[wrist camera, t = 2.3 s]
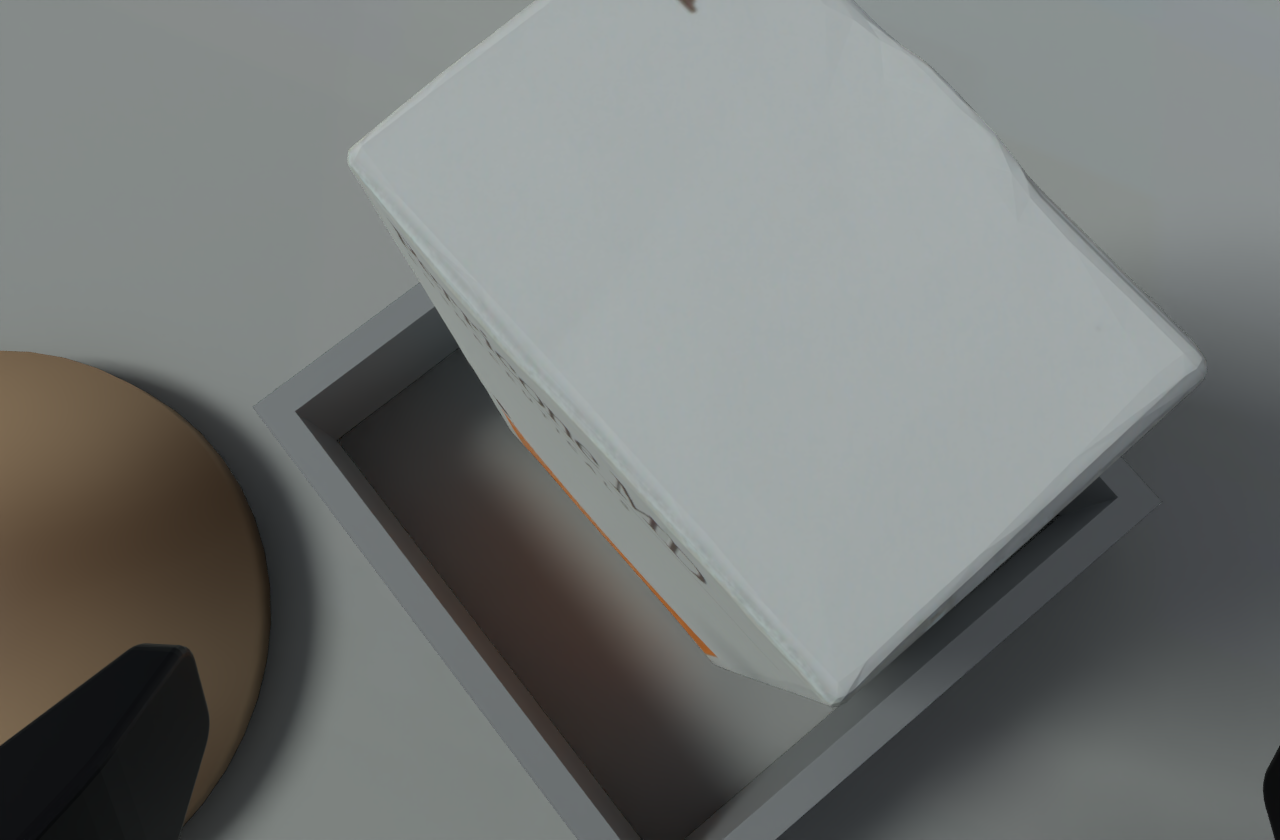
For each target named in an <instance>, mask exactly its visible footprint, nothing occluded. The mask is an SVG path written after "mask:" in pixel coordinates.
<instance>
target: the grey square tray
mask: <svg viewBox="0 0 1280 840" xmlns="http://www.w3.org/2000/svg"><path fill="white" fill-rule="evenodd" d="M458 348H459V345H458V343H457V342H456V340H455V338H454V337H453V335H452V334H451V332H450V330H449V329H448V327H447V326H446V324H445V322H444V321H443V319H442V317H441V316H440V314H439V312H438V311H437V309H436V307H435V306H434V304H433V303H432V301H431V300H430V298H429V296H428V294H427V293H426V291H425V289H424V288H423V286H422V285H421V283H420V282H419V283H418V284H417V285H415V286H414V287H413V288H411V289H410V290H409V291H407V292H406V293H405V294H403V295H402V296H401V297H399V298H398V299H397V300H395V301H394V302H393V303H391V304H390V305H389V306H387V307H386V308H384V309H383V310H382V311H380V312H379V313H378V314H376V315H375V316H374V317H372V318H371V319H370V320H368V321H367V322H366V323H364V324H363V325H362V326H360V327H359V328H358V329H356V330H355V331H354V332H352V333H351V334H350V335H348V336H347V337H346V338H344V339H343V340H341V341H340V342H339V343H337V344H336V345H335V346H333V347H332V348H331V349H329V350H328V351H327V352H325V353H324V354H323V355H321V356H320V357H319V358H317V359H316V360H315V361H313V362H312V363H311V364H309V365H308V366H307V367H305V368H304V369H303V370H301V371H300V372H299V373H297V374H296V375H294V376H293V377H292V378H290V379H289V380H288V381H286V382H285V383H284V384H282V385H281V386H280V387H278V388H277V389H276V390H274V391H273V392H272V393H270V394H269V395H268V396H266V397H265V398H264V399H262V400H261V401H260V402H258V403H257V404H256V405H254V406H253V409H254V410H255V411H256V413H257V414H258V415H259V417H260V418H261V419H262V421H263V422H264V423H265V424H266V426H267V427H268V428H269V430H270V431H271V432H272V434H273V435H274V436H275V438H276V439H277V440H278V442H279V443H280V444H281V446H282V447H283V448H284V450H285V451H286V452H287V454H288V455H289V456H290V458H291V459H292V460H293V462H294V463H295V464H296V466H297V467H298V468H299V470H300V471H301V472H302V474H303V475H304V476H305V478H306V479H307V480H308V482H309V483H310V484H311V486H312V487H313V488H314V490H315V491H316V492H317V494H318V495H319V496H320V498H321V499H322V500H323V502H324V503H325V504H326V506H327V507H328V508H329V510H330V511H331V512H332V514H333V515H334V516H335V518H336V519H337V520H338V522H339V523H340V524H341V526H342V527H343V528H344V530H345V531H346V532H347V534H348V535H349V536H350V538H351V539H352V540H353V542H354V543H355V544H356V546H357V547H358V548H359V549H360V551H361V552H362V553H363V555H364V556H365V557H366V559H367V560H368V561H369V563H370V564H371V565H372V567H373V568H374V569H375V571H376V572H377V573H378V575H379V576H380V577H381V579H382V580H383V581H384V583H385V584H386V585H387V587H388V588H389V589H390V591H391V592H392V593H393V595H394V596H395V597H396V599H397V600H398V601H399V603H400V604H401V605H402V607H403V608H404V609H405V611H406V612H407V613H408V615H409V616H410V617H411V619H412V620H413V621H414V623H415V624H416V625H417V627H418V628H419V629H420V631H421V632H422V633H423V635H424V636H425V637H426V639H427V640H428V641H429V643H430V644H431V645H432V647H433V648H434V649H435V651H436V652H437V653H438V655H439V656H440V657H441V659H442V660H443V661H444V663H445V664H446V665H447V667H448V668H449V669H450V671H451V672H452V673H453V675H454V676H455V677H456V678H457V680H458V681H459V682H460V684H461V685H462V686H463V688H464V689H465V690H466V692H467V693H468V694H469V696H470V697H471V698H472V700H473V701H474V702H475V704H476V705H477V706H478V708H479V709H480V710H481V712H482V713H483V714H484V716H485V717H486V718H487V720H488V721H489V722H490V724H491V725H492V726H493V728H494V729H495V730H496V732H497V733H498V734H499V736H500V737H501V738H502V740H503V741H504V742H505V744H506V745H507V746H508V748H509V749H510V750H511V752H512V753H513V754H514V756H515V757H516V758H517V760H518V761H519V762H520V764H521V765H522V766H523V768H524V769H525V770H526V772H527V773H528V774H529V776H530V777H531V778H532V780H533V781H534V782H535V784H536V785H537V786H538V788H539V789H540V790H541V792H542V793H543V794H544V796H545V797H546V798H547V800H548V801H549V802H550V804H551V805H552V806H553V807H554V809H555V810H556V811H557V813H558V814H559V815H560V817H561V818H562V819H563V821H564V822H565V823H566V825H567V826H568V827H569V829H570V830H571V831H572V833H573V834H574V835H575V837H576V838H577V839H578V840H641V838H640V837H639V836H638V834H637V833H636V832H635V831H634V829H633V828H632V827H631V825H630V824H629V823H628V821H627V820H626V819H625V817H624V816H623V815H622V813H621V812H620V811H619V810H618V808H617V807H616V806H615V804H614V803H613V802H612V800H611V799H610V798H609V796H608V795H607V794H606V793H605V791H604V790H603V789H602V787H601V786H600V785H599V783H598V782H597V781H596V779H595V778H594V777H593V776H592V774H591V773H590V772H589V770H588V769H587V768H586V766H585V765H584V764H583V762H582V761H581V760H580V758H579V757H578V756H577V755H576V753H575V752H574V751H573V749H572V748H571V747H570V745H569V744H568V743H567V741H566V740H565V739H564V738H563V736H562V735H561V734H560V732H559V731H558V730H557V728H556V727H555V726H554V724H553V723H552V722H551V721H550V719H549V718H548V717H547V715H546V714H545V713H544V711H543V710H542V709H541V707H540V706H539V705H538V703H537V702H536V701H535V700H534V698H533V697H532V696H531V694H530V693H529V692H528V690H527V689H526V688H525V686H524V685H523V684H522V683H521V681H520V680H519V679H518V677H517V676H516V675H515V673H514V672H513V671H512V669H511V668H510V667H509V666H508V664H507V663H506V662H505V660H504V659H503V658H502V656H501V655H500V654H499V652H498V651H497V650H496V648H495V647H494V646H493V645H492V643H491V642H490V641H489V639H488V638H487V637H486V635H485V634H484V633H483V631H482V630H481V629H480V628H479V626H478V625H477V624H476V622H475V621H474V620H473V618H472V617H471V616H470V614H469V613H468V612H467V610H466V609H465V608H464V607H463V605H462V604H461V603H460V601H459V600H458V599H457V597H456V596H455V595H454V593H453V592H452V591H451V590H450V588H449V587H448V586H447V584H446V583H445V582H444V580H443V579H442V578H441V576H440V575H439V574H438V573H437V571H436V570H435V569H434V567H433V566H432V565H431V563H430V562H429V561H428V559H427V558H426V557H425V555H424V554H423V553H422V552H421V550H420V549H419V548H418V546H417V545H416V544H415V542H414V541H413V540H412V538H411V537H410V536H409V535H408V533H407V532H406V531H405V529H404V528H403V527H402V525H401V524H400V523H399V521H398V520H397V519H396V518H395V516H394V515H393V514H392V512H391V511H390V510H389V508H388V507H387V506H386V504H385V503H384V502H383V500H382V499H381V498H380V497H379V495H378V494H377V493H376V491H375V490H374V489H373V487H372V486H371V485H370V483H369V482H368V481H367V480H366V478H365V477H364V476H363V474H362V473H361V472H360V470H359V469H358V468H357V466H356V465H355V464H354V462H353V461H352V460H351V459H350V457H349V456H348V455H347V453H346V452H345V451H344V449H343V448H342V447H341V445H340V444H339V443H338V442H337V440H338V439H339V438H340V437H342V436H343V435H344V434H346V433H347V432H348V431H349V430H351V429H352V428H353V427H355V426H356V425H357V424H359V423H360V422H361V421H363V420H364V419H365V418H367V417H368V416H369V415H371V414H372V413H373V412H375V411H376V410H377V409H378V408H380V407H381V406H382V405H384V404H385V403H386V402H388V401H389V400H390V399H392V398H393V397H394V396H396V395H397V394H398V393H400V392H401V391H402V390H404V389H405V388H406V387H407V386H409V385H410V384H411V383H413V382H414V381H415V380H417V379H418V378H419V377H421V376H422V375H423V374H425V373H426V372H427V371H429V370H430V369H431V368H433V367H434V366H435V365H437V364H438V363H439V362H440V361H442V360H443V359H444V358H446V357H447V356H448V355H450V354H451V353H452V352H454V351H455V350H456V349H458ZM1160 503H1162V501H1161V500H1160V499H1159V498H1158V496H1157V495H1156V494H1155V493H1154V492H1153V491H1152V490H1151V489H1150V488H1149V487H1148V485H1147V484H1146V483H1145V482H1144V481H1143V480H1142V479H1141V478H1140V477H1139V476H1138V475H1137V473H1136V472H1135V471H1134V470H1133V469H1132V468H1131V467H1130V466H1129V465H1128V464H1127V463H1126V461H1125V460H1124V459H1123V458H1122V457H1120V458H1119V459H1117V460H1116V461H1115V462H1114V463H1113V464H1112V465H1111V466H1110V467H1109V468H1108V469H1106V470H1105V471H1104V472H1103V473H1102V474H1101V475H1100V476H1099V477H1098V478H1097V479H1096V480H1095V481H1094V482H1092V483H1091V484H1090V485H1089V486H1088V487H1087V488H1086V489H1085V490H1084V491H1083V492H1081V493H1080V494H1079V495H1078V496H1077V497H1076V498H1075V499H1074V500H1073V501H1072V502H1070V503H1069V504H1068V505H1067V506H1066V507H1065V508H1064V509H1063V510H1062V511H1060V512H1059V513H1058V514H1059V516H1060V517H1058V518H1057V519H1056V520H1055V521H1054V522H1053V523H1051V524H1050V525H1049V526H1048V527H1047V528H1046V529H1044V530H1043V531H1042V532H1041V533H1040V534H1039V535H1037V536H1036V537H1035V538H1034V539H1033V540H1032V541H1030V542H1029V543H1028V544H1027V545H1026V546H1025V547H1023V548H1022V549H1021V550H1020V551H1019V552H1018V553H1017V554H1015V555H1014V556H1013V557H1012V558H1011V559H1010V560H1008V561H1007V562H1006V563H1005V564H1004V565H1003V566H1001V567H1000V568H999V569H998V570H997V571H996V572H994V573H993V574H992V575H991V576H990V577H989V578H987V579H986V580H985V581H984V582H983V583H982V584H980V585H979V586H978V587H977V588H976V589H975V590H974V591H972V592H971V593H970V594H969V595H968V596H967V597H965V598H964V599H963V600H962V601H961V602H960V603H958V604H957V605H956V606H955V607H954V608H953V609H951V610H950V611H949V612H948V613H947V614H946V615H944V616H943V617H942V618H941V619H940V620H939V621H937V622H936V623H935V624H934V625H933V626H932V627H931V628H929V629H928V630H927V631H926V632H925V633H924V634H923V635H922V636H920V637H919V638H918V639H917V640H916V641H915V642H914V643H913V644H911V645H910V646H909V647H908V648H907V649H906V650H905V651H904V652H902V653H901V654H900V655H899V656H898V657H897V658H896V659H895V660H893V661H892V662H891V663H890V664H889V665H888V666H887V667H885V668H884V669H883V670H882V671H881V672H880V673H879V674H878V675H876V676H875V677H874V678H873V679H872V680H871V681H870V682H869V683H867V684H866V685H865V686H864V687H863V688H862V689H861V690H860V691H859V692H857V693H856V694H855V695H854V696H853V697H852V698H851V699H850V700H849V701H848V702H846V703H845V704H843V705H841V706H839V707H838V708H836V709H835V710H834V711H833V712H832V713H831V714H829V715H828V716H827V717H826V718H825V719H824V720H822V721H821V722H820V723H819V724H818V725H817V726H815V727H814V728H813V729H812V730H811V731H810V732H808V733H807V734H806V735H805V736H804V737H803V738H801V739H800V740H799V741H798V742H797V743H796V744H795V745H793V746H792V747H791V748H790V749H789V750H788V751H786V752H785V753H784V754H783V755H782V756H781V757H779V758H778V759H777V760H776V761H775V762H774V763H772V764H771V765H770V766H769V767H768V768H767V769H765V770H764V771H763V772H762V773H761V774H760V775H758V776H757V777H756V778H755V779H754V780H753V781H752V782H750V783H749V784H748V785H747V786H746V787H745V788H743V789H742V790H741V791H740V792H739V793H738V794H736V795H735V796H734V797H733V798H732V799H731V800H729V801H728V802H727V803H726V804H725V805H724V806H722V807H721V808H720V809H719V810H718V811H717V812H715V813H714V814H713V815H712V816H711V817H710V818H709V819H707V820H706V821H705V822H704V823H703V824H702V825H700V826H699V827H698V828H697V829H696V830H695V831H693V832H692V833H691V834H690V835H689V836H688V837H686V838H685V839H684V840H775V839H777V838H778V837H779V836H780V835H781V834H782V833H783V832H785V831H786V830H787V829H788V828H789V827H790V826H791V825H793V824H794V823H795V822H796V821H797V820H798V819H799V818H801V817H802V816H803V815H804V814H805V813H806V812H807V811H809V810H810V809H811V808H812V807H813V806H814V805H815V804H817V803H818V802H819V801H820V800H821V799H822V798H824V797H825V796H826V795H827V794H828V793H829V792H830V791H832V790H833V789H834V788H835V787H836V786H837V785H838V784H840V783H841V782H842V781H843V780H844V779H845V778H846V777H848V776H849V775H850V774H851V773H852V772H853V771H854V770H856V769H857V768H858V767H859V766H860V765H861V764H862V763H864V762H865V761H866V760H867V759H868V758H869V757H870V756H872V755H873V754H874V753H875V752H876V751H877V750H879V749H880V748H881V747H882V746H883V745H884V744H885V743H887V742H888V741H889V740H890V739H891V738H892V737H893V736H895V735H896V734H897V733H898V732H899V731H900V730H901V729H903V728H904V727H905V726H906V725H907V724H908V723H909V722H911V721H912V720H913V719H914V718H915V717H916V716H917V715H919V714H920V713H921V712H922V711H923V710H924V709H926V708H927V707H928V706H929V705H930V704H931V703H932V702H934V701H935V700H936V699H937V698H938V697H939V696H940V695H942V694H943V693H944V692H945V691H946V690H947V689H948V688H950V687H951V686H952V685H953V684H954V683H955V682H956V681H958V680H959V679H960V678H961V677H962V676H963V675H964V674H966V673H967V672H968V671H969V670H970V669H971V668H972V667H974V666H975V665H976V664H977V663H978V662H979V661H981V660H982V659H983V658H984V657H985V656H986V655H987V654H989V653H990V652H991V651H992V650H993V649H994V648H995V647H997V646H998V645H999V644H1000V643H1001V642H1002V641H1003V640H1005V639H1006V638H1007V637H1008V636H1009V635H1010V634H1011V633H1013V632H1014V631H1015V630H1016V629H1017V628H1018V627H1019V626H1021V625H1022V624H1023V623H1024V622H1025V621H1026V620H1027V619H1029V618H1030V617H1031V616H1032V615H1033V614H1034V613H1036V612H1037V611H1038V610H1039V609H1040V608H1041V607H1042V606H1044V605H1045V604H1046V603H1047V602H1048V601H1049V600H1050V599H1052V598H1053V597H1054V596H1055V595H1056V594H1057V593H1058V592H1060V591H1061V590H1062V589H1063V588H1064V587H1065V586H1066V585H1068V584H1069V583H1070V582H1071V581H1072V580H1073V579H1074V578H1076V577H1077V576H1078V575H1079V574H1080V573H1081V572H1082V571H1084V570H1085V569H1086V568H1087V567H1088V566H1089V565H1091V564H1092V563H1093V562H1094V561H1095V560H1096V559H1097V558H1099V557H1100V556H1101V555H1102V554H1103V553H1104V552H1105V551H1107V550H1108V549H1109V548H1110V547H1111V546H1112V545H1113V544H1115V543H1116V542H1117V541H1118V540H1119V539H1120V538H1121V537H1123V536H1124V535H1125V534H1126V533H1127V532H1128V531H1129V530H1131V529H1132V528H1133V527H1134V526H1135V525H1136V524H1138V523H1139V522H1140V521H1141V520H1142V519H1143V518H1144V517H1146V516H1147V515H1148V514H1149V513H1150V512H1151V511H1152V510H1154V509H1155V508H1156V507H1157V506H1158V505H1159V504H1160Z"/></svg>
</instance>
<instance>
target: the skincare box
mask: <svg viewBox="0 0 1280 840" xmlns="http://www.w3.org/2000/svg"><path fill="white" fill-rule="evenodd" d="M347 162H348V165H349V168H350V169H351V171H352V172H353V174H354V175H355V177H356V179H357V180H358V182H359V183H360V185H361V186H362V188H363V189H364V191H365V193H366V194H367V196H368V198H369V200H370V201H371V203H372V205H373V207H374V208H375V210H376V212H377V213H378V215H379V217H380V218H381V220H382V222H383V223H384V225H385V227H386V228H387V230H388V231H389V233H390V235H391V236H392V238H393V240H394V241H395V243H396V245H397V246H398V248H399V249H400V251H401V253H402V254H403V256H404V258H405V259H406V261H407V262H408V264H409V265H410V267H411V268H412V270H413V271H414V273H415V275H416V277H417V278H418V280H419V282H420V283H421V285H422V286H423V288H424V289H425V291H426V293H427V294H428V296H429V298H430V300H431V301H432V303H433V304H434V306H435V307H436V309H437V311H438V312H439V314H440V316H441V317H442V319H443V321H444V322H445V324H446V326H447V327H448V329H449V330H450V332H451V334H452V335H453V337H454V338H455V340H456V342H457V343H458V345H459V347H460V349H461V350H462V352H463V354H464V355H465V357H466V359H467V360H468V362H469V364H470V365H471V366H472V368H473V369H474V371H475V373H476V374H477V376H478V377H479V379H480V381H481V382H482V384H483V385H484V386H485V388H486V390H487V391H488V393H489V395H490V397H491V398H492V400H493V402H494V404H495V405H496V407H497V409H498V410H499V412H500V413H501V415H502V417H503V418H504V420H505V422H506V423H507V425H508V427H509V428H510V430H511V431H512V433H513V434H514V435H515V436H516V437H517V438H518V439H519V440H520V441H521V443H522V444H523V445H524V446H525V447H526V448H527V449H528V450H529V451H530V452H531V453H532V454H533V455H534V457H535V458H536V459H537V460H538V461H539V462H540V463H541V465H542V466H543V467H544V468H545V469H546V470H547V471H548V473H549V474H550V475H551V476H552V477H553V478H554V480H555V481H556V482H557V483H558V484H559V485H560V487H561V488H562V489H563V490H564V491H565V492H566V494H567V495H568V496H569V497H570V498H571V499H572V501H573V502H574V503H575V504H576V505H577V506H578V508H579V509H580V510H581V511H582V512H583V513H584V514H585V516H586V517H587V518H588V519H589V520H590V521H591V522H592V524H593V525H594V526H595V527H596V528H597V529H598V530H599V532H600V533H601V534H602V535H603V536H604V537H605V538H606V539H607V541H608V542H609V543H610V544H611V545H612V546H613V547H614V549H615V550H616V551H617V552H618V553H619V554H620V555H621V557H622V558H623V559H624V560H625V561H626V562H627V563H628V564H629V566H630V567H631V568H632V569H633V570H634V571H635V572H636V574H637V575H638V576H639V577H640V578H641V579H642V580H643V582H644V583H645V584H646V585H647V586H648V587H649V588H650V590H651V591H652V592H653V593H654V594H655V595H656V596H657V598H658V599H659V600H660V601H661V602H662V603H663V604H664V606H665V607H666V608H667V609H668V610H669V611H670V613H671V614H672V615H673V616H674V617H675V618H676V620H677V621H678V622H679V623H680V624H681V625H682V627H683V628H684V629H685V630H686V632H687V633H688V634H689V635H690V636H691V638H692V639H693V640H694V641H695V642H696V644H697V645H698V646H699V647H700V648H701V650H702V651H703V652H704V653H705V654H706V656H707V657H708V658H709V659H710V660H711V661H712V662H713V664H714V665H716V666H719V667H722V668H724V669H727V670H729V671H732V672H735V673H738V674H740V675H743V676H746V677H748V678H752V679H755V680H757V681H760V682H763V683H766V684H768V685H772V686H775V687H777V688H780V689H784V690H787V691H790V692H792V693H795V694H798V695H801V696H803V697H806V698H809V699H812V700H815V701H817V702H819V703H822V704H825V705H827V706H829V707H831V708H832V707H839V706H841V705H843V704H845V703H846V702H848V701H849V700H850V699H851V698H852V697H853V696H854V695H855V694H856V693H857V692H859V691H860V690H861V689H862V688H863V687H864V686H865V685H866V684H867V683H869V682H870V681H871V680H872V679H873V678H874V677H875V676H876V675H878V674H879V673H880V672H881V671H882V670H883V669H884V668H885V667H887V666H888V665H889V664H890V663H891V662H892V661H893V660H895V659H896V658H897V657H898V656H899V655H900V654H901V653H902V652H904V651H905V650H906V649H907V648H908V647H909V646H910V645H911V644H913V643H914V642H915V641H916V640H917V639H918V638H919V637H920V636H922V635H923V634H924V633H925V632H926V631H927V630H928V629H929V628H931V627H932V626H933V625H934V624H935V623H936V622H937V621H938V620H940V619H941V618H942V617H943V616H944V615H945V614H946V613H947V612H949V611H950V610H951V609H952V608H953V607H954V606H955V605H956V604H958V603H959V602H960V601H961V600H962V599H963V598H964V597H965V596H967V595H968V594H969V593H970V592H971V591H972V590H973V589H974V588H976V587H977V586H978V585H979V584H980V583H981V582H982V581H983V580H985V579H986V578H987V577H988V576H989V575H990V574H991V573H992V572H993V571H995V570H996V569H997V568H998V567H999V566H1000V565H1001V564H1002V563H1004V562H1005V561H1006V560H1007V559H1008V558H1009V557H1010V556H1011V555H1013V554H1014V553H1015V552H1016V551H1017V550H1018V549H1019V548H1020V547H1021V546H1023V545H1024V544H1025V543H1026V542H1027V541H1028V540H1029V539H1030V538H1032V537H1033V536H1034V535H1035V534H1036V533H1037V532H1038V531H1039V530H1041V529H1042V528H1043V527H1044V526H1045V525H1046V524H1047V523H1048V522H1049V521H1050V520H1052V519H1053V518H1054V517H1055V516H1056V515H1057V514H1058V513H1059V512H1060V511H1062V510H1063V509H1064V508H1065V507H1066V506H1067V505H1068V504H1069V503H1070V502H1072V501H1073V500H1074V499H1075V498H1076V497H1077V496H1078V495H1079V494H1080V493H1081V492H1083V491H1084V490H1085V489H1086V488H1087V487H1088V486H1089V485H1090V484H1091V483H1092V482H1094V481H1095V480H1096V479H1097V478H1098V477H1099V476H1100V475H1101V474H1102V473H1103V472H1104V471H1105V470H1106V469H1108V468H1109V467H1110V466H1111V465H1112V464H1113V463H1114V462H1115V461H1116V460H1117V459H1119V458H1120V457H1121V456H1122V455H1123V454H1124V453H1125V452H1126V451H1127V450H1129V449H1130V448H1131V447H1132V446H1133V445H1134V444H1135V443H1136V442H1137V441H1139V440H1140V439H1141V438H1142V437H1143V436H1144V435H1145V434H1146V433H1147V432H1149V431H1150V430H1151V429H1152V428H1153V427H1154V426H1155V425H1156V424H1157V423H1158V422H1159V421H1160V420H1161V419H1162V418H1164V417H1165V416H1166V415H1167V414H1168V413H1169V412H1170V411H1171V410H1172V409H1173V408H1174V407H1175V406H1176V405H1177V404H1178V403H1180V402H1181V401H1182V400H1183V399H1184V398H1185V397H1186V396H1187V395H1189V394H1190V393H1191V392H1192V391H1193V390H1194V389H1195V388H1197V387H1198V386H1199V384H1200V383H1201V382H1202V381H1203V380H1204V379H1205V376H1206V372H1207V363H1206V359H1205V358H1204V356H1203V354H1202V353H1201V351H1200V350H1199V348H1198V347H1197V345H1196V344H1195V343H1194V342H1193V341H1192V340H1191V339H1190V338H1189V337H1188V336H1187V335H1186V334H1185V333H1184V332H1183V331H1182V330H1181V329H1180V328H1179V327H1178V326H1177V325H1176V324H1175V323H1174V322H1173V321H1172V320H1171V319H1170V318H1169V317H1168V316H1167V315H1166V314H1165V313H1164V312H1163V311H1162V310H1161V309H1160V308H1159V307H1158V306H1157V305H1156V304H1155V303H1154V302H1153V301H1152V300H1151V299H1150V298H1149V297H1148V296H1147V295H1146V294H1145V293H1144V292H1143V291H1142V290H1141V289H1140V288H1139V287H1138V286H1137V285H1136V284H1135V283H1134V282H1133V281H1132V280H1131V279H1130V278H1129V277H1128V276H1127V275H1126V274H1125V273H1124V272H1123V271H1122V270H1121V269H1120V268H1119V267H1118V266H1117V265H1116V264H1115V263H1114V262H1113V261H1112V260H1111V259H1110V258H1109V257H1108V256H1107V255H1106V254H1105V253H1104V252H1103V251H1102V250H1101V249H1100V248H1099V247H1098V246H1097V245H1096V244H1095V243H1094V242H1093V241H1092V240H1091V239H1090V238H1089V237H1088V236H1087V235H1086V234H1085V233H1084V231H1083V230H1082V229H1081V228H1080V227H1079V226H1078V225H1077V224H1076V223H1075V222H1073V221H1072V220H1071V219H1070V218H1069V217H1068V216H1067V215H1066V214H1065V213H1064V212H1063V211H1062V210H1061V209H1060V208H1059V207H1058V206H1057V205H1056V204H1055V203H1054V202H1053V201H1052V200H1051V199H1050V198H1049V197H1048V196H1047V195H1046V194H1045V193H1044V192H1043V191H1042V190H1041V189H1040V188H1039V187H1038V186H1037V185H1036V184H1035V183H1034V181H1033V180H1032V179H1031V178H1030V177H1029V176H1028V175H1027V174H1026V172H1025V171H1024V170H1023V168H1022V167H1021V166H1020V164H1019V163H1018V162H1017V160H1016V159H1015V158H1014V157H1013V155H1012V154H1011V153H1010V151H1009V150H1008V149H1007V147H1006V146H1005V145H1004V143H1003V142H1002V141H1001V139H1000V138H999V137H998V135H997V134H996V133H995V132H994V131H993V130H992V129H991V128H990V127H989V126H988V125H987V123H986V122H985V121H984V120H983V119H982V118H981V117H980V116H979V115H978V114H977V113H976V112H975V111H974V110H973V109H972V108H971V106H970V105H969V104H968V103H967V102H966V101H965V100H964V99H963V98H962V97H961V96H960V95H959V94H958V93H957V92H956V91H955V89H954V88H953V87H952V86H951V85H950V84H949V83H948V82H947V81H946V80H944V79H943V78H942V77H941V76H940V75H939V74H938V73H937V72H936V71H935V70H934V69H933V68H932V67H931V66H930V65H929V64H927V63H926V62H925V61H924V60H922V59H921V58H920V57H919V56H917V55H916V54H914V53H913V52H911V51H910V50H908V49H907V48H905V47H904V46H902V45H901V44H900V43H899V42H897V41H896V40H895V39H894V38H892V37H891V36H890V35H889V34H887V33H886V32H885V31H884V30H883V29H882V28H881V27H880V26H879V25H878V24H877V23H876V22H875V21H874V20H873V19H872V18H871V17H870V16H869V15H868V14H867V13H866V12H865V11H864V10H863V9H862V8H861V7H860V6H859V5H858V4H857V3H856V2H855V1H854V0H535V1H534V2H533V3H531V4H530V5H529V6H527V7H526V8H525V9H523V10H522V11H521V12H520V13H518V14H517V15H516V16H514V17H513V18H512V19H511V20H509V21H508V22H507V23H506V24H504V25H503V26H502V27H500V28H499V29H498V30H497V31H495V32H494V33H493V34H492V35H490V36H489V37H488V38H487V39H485V40H484V41H483V42H481V43H480V44H479V45H477V46H476V47H475V48H473V49H472V50H471V51H469V52H468V53H467V54H466V55H464V56H463V57H462V58H460V59H459V60H458V61H457V62H455V63H454V64H453V65H451V66H450V67H449V68H448V69H446V70H445V71H444V72H442V73H441V74H440V75H439V76H437V77H436V78H435V79H434V80H432V81H431V82H430V83H429V84H428V85H426V86H425V87H424V88H423V89H421V90H420V91H419V92H418V93H417V94H415V95H414V96H413V97H412V98H410V99H409V100H408V101H407V102H406V103H404V104H403V105H402V106H401V107H400V108H398V109H397V110H396V111H395V112H393V113H392V114H391V115H390V116H389V117H387V118H386V119H385V120H384V121H383V122H381V123H380V124H379V125H378V126H376V127H375V128H374V129H373V130H372V131H370V132H369V133H368V134H367V135H366V136H364V137H363V138H362V139H361V140H360V141H358V142H357V143H356V144H355V145H354V146H352V147H351V148H350V149H349V151H348V158H347Z"/></svg>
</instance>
